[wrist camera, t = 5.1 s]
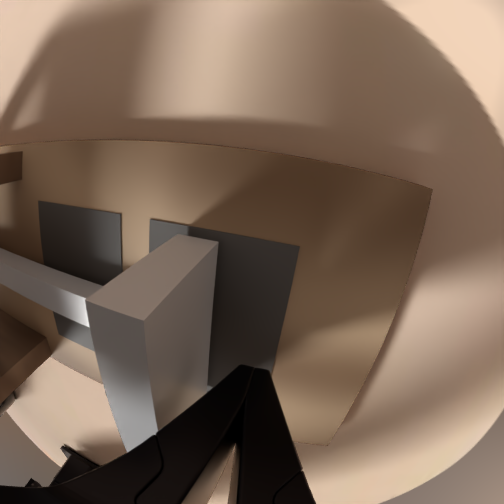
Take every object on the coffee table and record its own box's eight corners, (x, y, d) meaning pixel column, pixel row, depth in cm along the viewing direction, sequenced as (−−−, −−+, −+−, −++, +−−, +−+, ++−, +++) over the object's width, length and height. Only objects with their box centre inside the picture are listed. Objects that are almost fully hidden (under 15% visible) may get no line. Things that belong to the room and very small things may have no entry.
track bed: (327, 429, 11) (327, 446, 10) (-21, 295, 15) (-30, 300, 14) (420, 184, 7) (433, 190, 6) (-39, 152, 11) (-51, 154, 10)
